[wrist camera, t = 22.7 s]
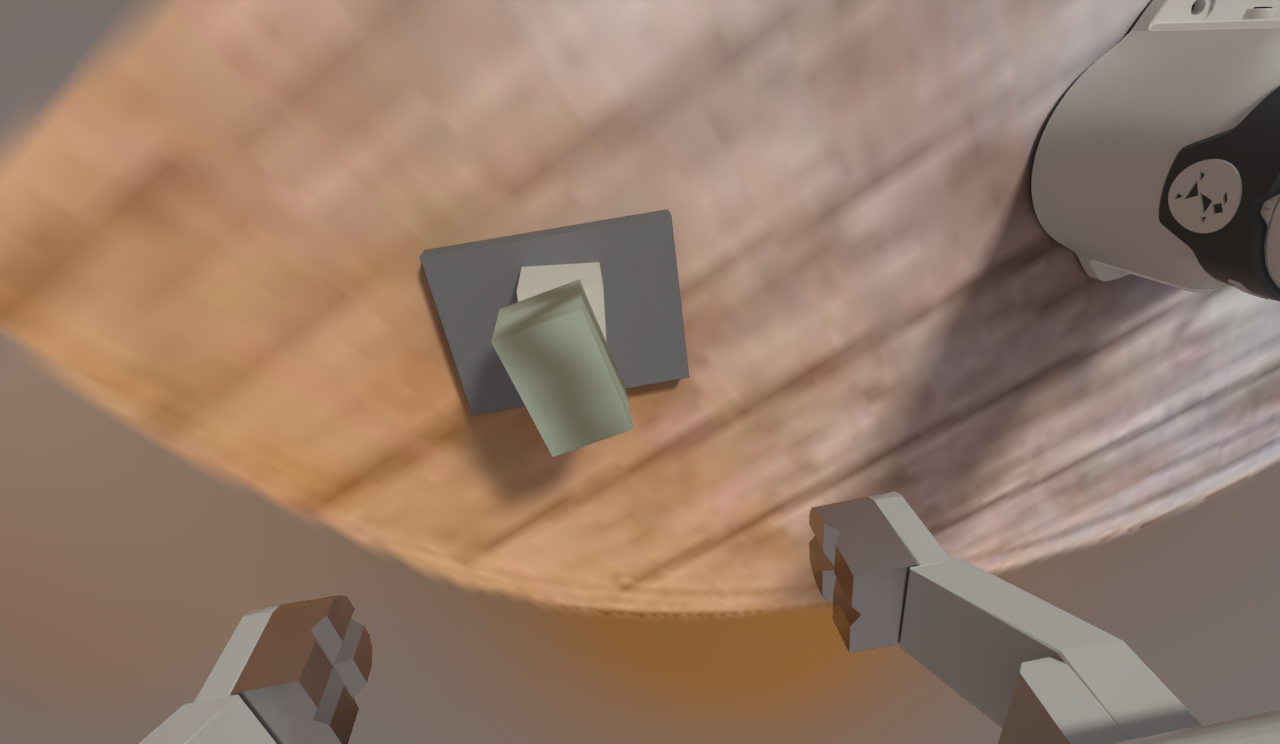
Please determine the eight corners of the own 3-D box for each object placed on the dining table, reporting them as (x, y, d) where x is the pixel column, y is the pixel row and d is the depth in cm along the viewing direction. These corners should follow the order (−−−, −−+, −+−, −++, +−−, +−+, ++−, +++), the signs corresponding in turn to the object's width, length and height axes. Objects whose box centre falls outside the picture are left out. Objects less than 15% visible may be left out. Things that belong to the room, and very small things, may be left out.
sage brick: (579, 279, 34) (581, 309, 30) (626, 389, 38) (633, 428, 34) (499, 308, 34) (491, 342, 30) (553, 415, 38) (552, 457, 34)
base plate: (667, 209, 39) (671, 215, 37) (685, 367, 44) (689, 377, 43) (424, 250, 38) (419, 257, 37) (475, 404, 44) (472, 415, 43)
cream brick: (599, 262, 38) (603, 286, 34) (606, 370, 42) (610, 402, 38) (521, 266, 38) (516, 291, 34) (535, 375, 42) (532, 409, 38)
